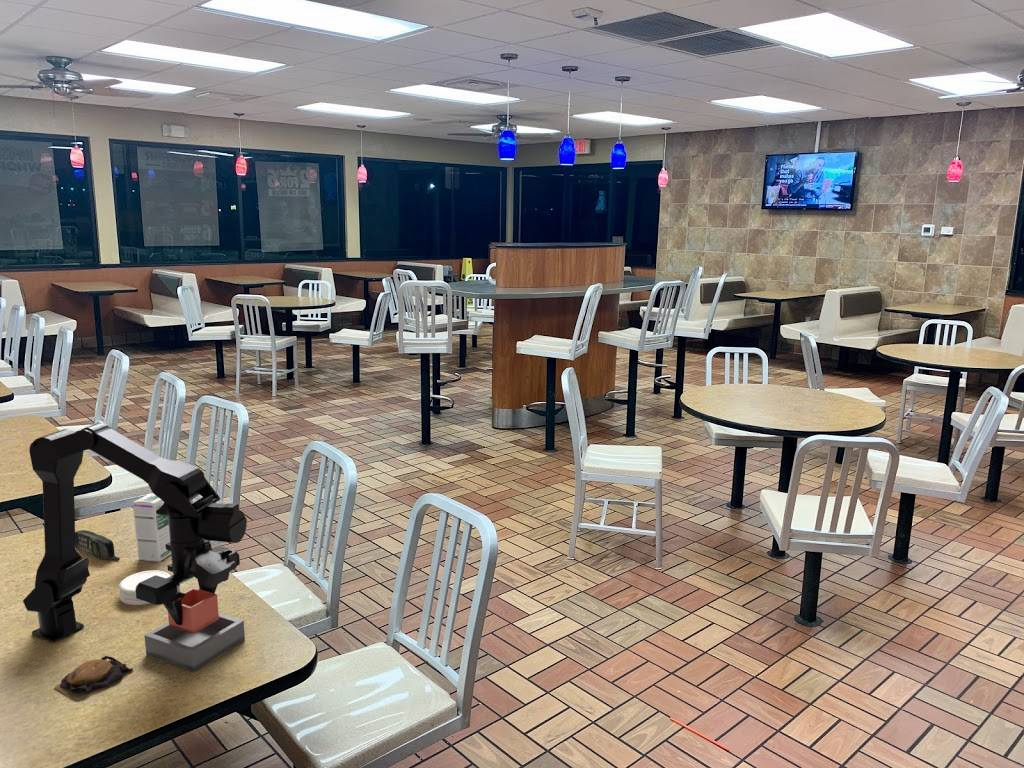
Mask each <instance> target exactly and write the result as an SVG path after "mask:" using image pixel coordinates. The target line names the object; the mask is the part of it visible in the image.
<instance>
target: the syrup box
mask: <svg viewBox="0 0 1024 768" xmlns="http://www.w3.org/2000/svg"><path fill="white" fill-rule="evenodd" d="M163 504H164V501H162V500H161V499H160V498H158V497H157V496H156V495H155V494H153V493H147V494H146V495H145V496H142V497H141V498H139V499H137V500H134V501H133V502H132V510H133V511H132V512H133V519H134V527H135V528H134V529H135V537H136V545H137V555H138V560H141V561H146V562H148V561H149V562H158V563H160V562H162V560H164V559H166V558H167V557H169V556H170V555H171V551H170V550H166V545H165V544H167V543H169V542H170V534H169V522H168V515H160V514H156V511H157V510H158V509H159V508H160V507H161V506H162V505H163Z"/></svg>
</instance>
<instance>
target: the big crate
mask: <svg viewBox="0 0 1024 768" xmlns="http://www.w3.org/2000/svg"><path fill="white" fill-rule="evenodd" d="M218 614H219V619H218V620H217V621H215V622H213V623H211V624H210V625H208V626H206V627H204V628H203V629H201V630H199V631H198V632H196V633H194V634H190V633H188V632H185V631H182V630H179V629H176V628H173V627H170V626H169V621H167V622H166V623H164V624H163V625H160V626H159V627H157V628H155V629H153V630H151V631H149V632H147V633H146V634H144V646H145V655H146V656H148V657H150V658H153V659H156V660H158V661H161V662H164V663H165V664H166V663H167V664H170V665H172V666H175V667H177V668H180V669H183V670H186V671H189V672H192V673H195V672H198V670H200V669H201V668H204V666H206V665H208V664H209V663H211V662H212V661H214V660H216V659H218V658H220V656H222V655H223V654H225V653H227V652H229V651H230V650H231V649H233V648H235V647H237V646H238V645H239V644H241V643H243V642H245V640H246V638H245V637H246V634H245V623H244V622H245V621H244V620H242V619H239V618H236V617H233V616H230V615H227V614H224V613H220V612H218Z"/></svg>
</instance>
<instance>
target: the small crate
mask: <svg viewBox="0 0 1024 768" xmlns="http://www.w3.org/2000/svg"><path fill="white" fill-rule="evenodd" d="M183 593H184V594H186V595H185V596H184V598H183V599H182V601H181V602H182V615H183V620H182V625H177V624H176V623H175V621H174V620H173V618H172V617H171V615H170V614H169V612H168V611H167V614H168V615H167V616H168V622H169V626H170V627H173V628H176V629H179V630H182V631H185V632H188V633H190V634H194V633H196V632H198V631H199V630H201V629H203V628H204V627H206V626H208V625H210V624H211V623H213V622H215V621H217V620H218V619H219V614H218V613H219V604H218V594H217V593H215V594H214V593H211V592H208V591H204V590H201V589H199V587H192V588H190V589H188V590H186V591H184V592H183Z"/></svg>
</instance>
